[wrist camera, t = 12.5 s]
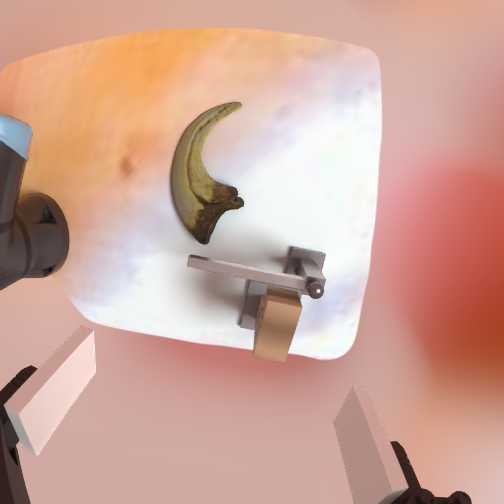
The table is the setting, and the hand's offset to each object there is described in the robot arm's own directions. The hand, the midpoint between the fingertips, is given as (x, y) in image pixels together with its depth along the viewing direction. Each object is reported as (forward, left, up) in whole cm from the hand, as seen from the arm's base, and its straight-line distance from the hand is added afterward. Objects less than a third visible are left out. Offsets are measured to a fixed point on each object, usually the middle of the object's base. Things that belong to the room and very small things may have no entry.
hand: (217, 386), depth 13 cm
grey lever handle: (+1, -2, -32) cm, 32 cm away
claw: (-7, +9, -32) cm, 34 cm away
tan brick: (+5, -7, -31) cm, 32 cm away
